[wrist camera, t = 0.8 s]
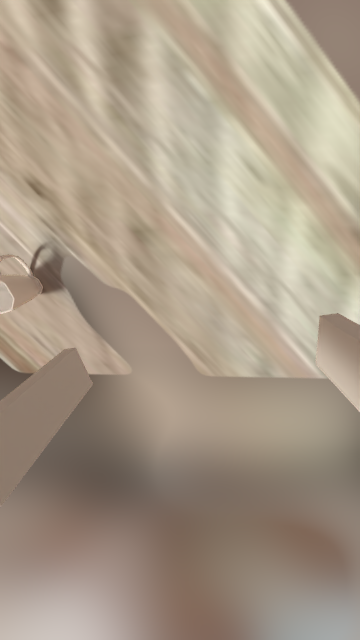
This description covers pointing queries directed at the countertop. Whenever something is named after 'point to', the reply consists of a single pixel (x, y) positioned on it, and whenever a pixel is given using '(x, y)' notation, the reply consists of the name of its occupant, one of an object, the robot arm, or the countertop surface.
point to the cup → (17, 288)
